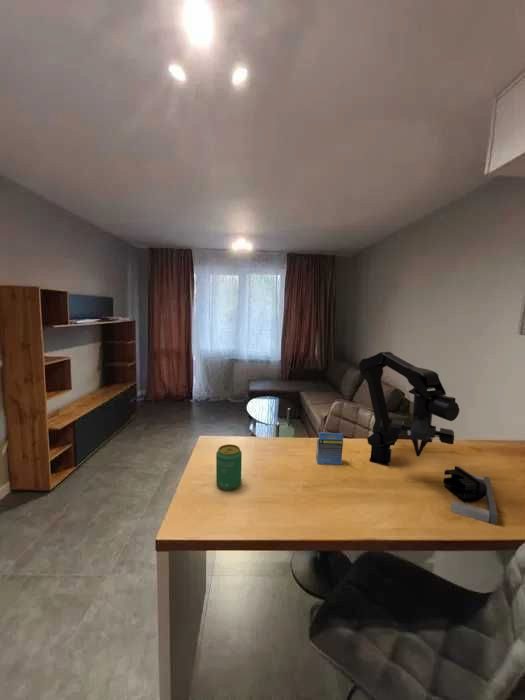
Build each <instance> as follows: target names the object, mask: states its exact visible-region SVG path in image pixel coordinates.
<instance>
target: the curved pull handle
mask: <svg viewBox="0 0 525 700" xmlns="http://www.w3.org/2000/svg"><path fill="white" fill-rule="evenodd" d="M471 475H472V476H474V477H475V478H477V479H478V480H480V481H481V482H483V483H484V484H485V485H486V487H487V493H486V495H485V497H484V498H485V504H486V509H484V508H481V507H477V506H474V505H470V504H468V503H463V502H460V501H456V500H451V504H450V512H451V513H453V514H454V513H455V514H458V515H460V516H464V517H467V518H471V519H474V520H478V521H480V522H484V523H488V524H491V525H495V526H496V525H497V522H498V516H499V515H498V511H497V510H498V509H497V505H496V501H495V497H494V491H493V486H492V482H491V478H490V477H489V476H479V475H475V474H474V475H473V474H471ZM450 477H452V475H450Z"/></svg>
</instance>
